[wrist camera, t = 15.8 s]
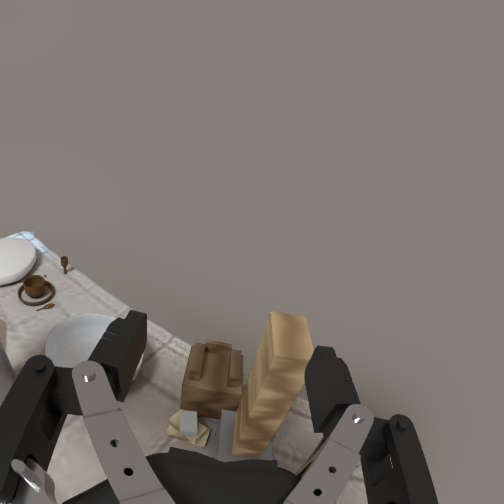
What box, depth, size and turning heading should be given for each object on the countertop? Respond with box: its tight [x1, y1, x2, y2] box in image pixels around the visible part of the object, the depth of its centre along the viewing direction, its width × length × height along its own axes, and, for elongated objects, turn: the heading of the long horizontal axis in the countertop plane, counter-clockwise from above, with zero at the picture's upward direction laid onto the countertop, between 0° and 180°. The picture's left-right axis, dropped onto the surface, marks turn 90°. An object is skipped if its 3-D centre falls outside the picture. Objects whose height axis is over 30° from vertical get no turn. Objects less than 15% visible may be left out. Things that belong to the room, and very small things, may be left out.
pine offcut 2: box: [166, 424, 210, 447], centre depth 41 cm, size 7×4×2 cm, turn 81°
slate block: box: [213, 410, 273, 462], centre depth 37 cm, size 8×10×8 cm
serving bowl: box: [45, 314, 144, 383], centre depth 46 cm, size 21×21×7 cm
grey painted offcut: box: [180, 410, 197, 436], centre depth 39 cm, size 4×3×2 cm, turn 8°
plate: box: [0, 238, 36, 285], centre depth 63 cm, size 28×6×27 cm
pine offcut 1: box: [169, 409, 208, 444], centre depth 40 cm, size 6×3×2 cm, turn 58°
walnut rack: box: [180, 340, 243, 419], centre depth 48 cm, size 10×10×12 cm
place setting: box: [18, 256, 68, 311], centre depth 63 cm, size 18×20×6 cm
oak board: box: [232, 311, 314, 458], centre depth 31 cm, size 4×7×22 cm, turn 179°
